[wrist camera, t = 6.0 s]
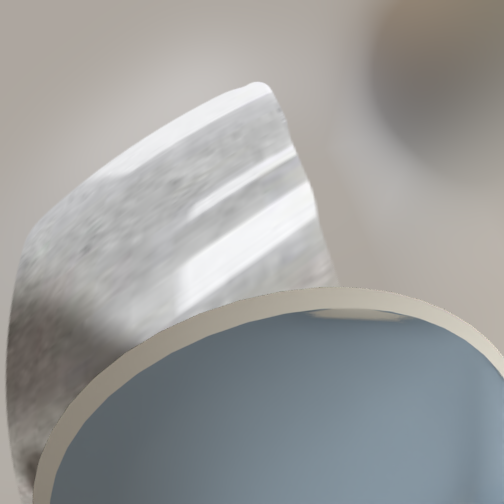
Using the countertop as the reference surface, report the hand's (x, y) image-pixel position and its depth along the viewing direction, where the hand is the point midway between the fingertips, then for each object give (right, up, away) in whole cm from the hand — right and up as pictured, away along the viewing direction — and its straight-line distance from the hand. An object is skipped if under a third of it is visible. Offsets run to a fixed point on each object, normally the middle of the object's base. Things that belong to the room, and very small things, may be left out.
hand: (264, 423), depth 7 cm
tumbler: (0, -5, +5) cm, 7 cm away
